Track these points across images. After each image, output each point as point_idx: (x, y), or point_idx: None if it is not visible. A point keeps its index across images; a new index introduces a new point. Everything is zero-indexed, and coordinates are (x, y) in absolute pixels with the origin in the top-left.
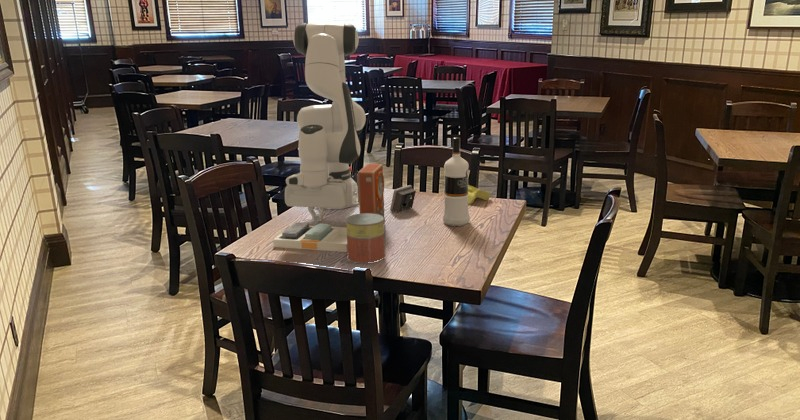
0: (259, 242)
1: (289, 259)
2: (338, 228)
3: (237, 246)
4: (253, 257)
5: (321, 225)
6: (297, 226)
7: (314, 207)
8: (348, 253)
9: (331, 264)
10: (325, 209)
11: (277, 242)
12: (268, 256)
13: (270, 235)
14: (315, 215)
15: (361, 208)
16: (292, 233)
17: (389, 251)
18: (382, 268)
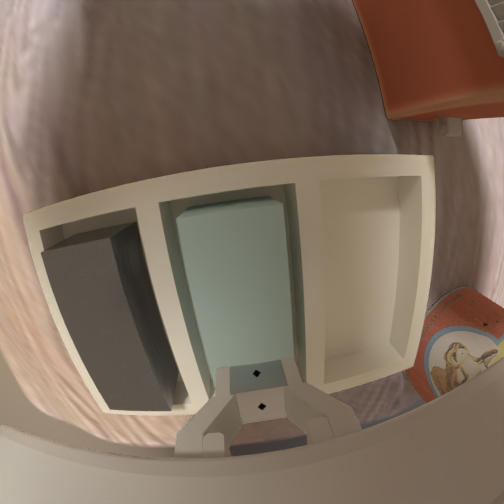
0: (34, 346)
1: None
2: (318, 180)
3: (24, 381)
4: (126, 441)
5: (224, 254)
6: (92, 318)
7: (225, 448)
8: (415, 388)
9: (367, 417)
10: (350, 410)
11: None
12: (155, 434)
13: (6, 271)
14: (252, 418)
15: (499, 103)
16: (155, 410)
17: (489, 275)
18: None
